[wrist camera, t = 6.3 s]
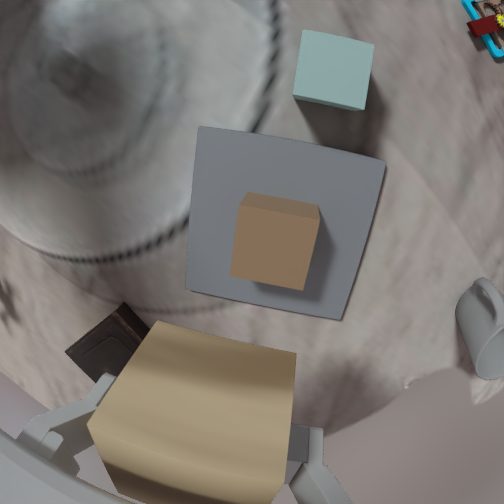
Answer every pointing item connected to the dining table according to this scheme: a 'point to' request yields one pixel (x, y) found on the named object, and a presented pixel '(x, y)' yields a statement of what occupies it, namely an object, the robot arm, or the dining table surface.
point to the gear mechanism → (486, 24)
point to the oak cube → (197, 420)
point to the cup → (483, 328)
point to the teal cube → (333, 70)
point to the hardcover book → (109, 344)
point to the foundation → (278, 220)
